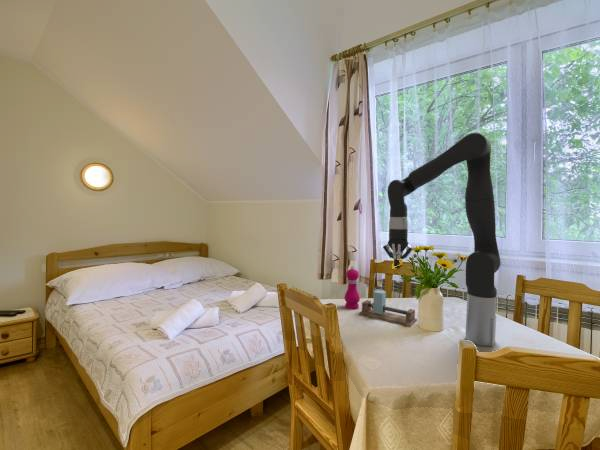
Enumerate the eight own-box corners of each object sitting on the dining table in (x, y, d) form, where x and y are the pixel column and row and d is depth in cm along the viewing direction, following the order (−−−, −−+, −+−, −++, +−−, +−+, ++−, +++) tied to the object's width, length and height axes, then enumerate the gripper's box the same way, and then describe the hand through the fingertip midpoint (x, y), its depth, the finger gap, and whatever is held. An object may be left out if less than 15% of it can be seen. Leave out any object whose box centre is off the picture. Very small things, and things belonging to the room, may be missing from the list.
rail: (416, 321, 138) (417, 308, 137) (410, 326, 131) (410, 313, 131) (367, 310, 152) (367, 298, 151) (359, 314, 145) (359, 302, 145)
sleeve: (385, 312, 144) (385, 291, 143) (381, 314, 141) (382, 293, 140) (377, 310, 147) (377, 290, 146) (373, 312, 143) (373, 292, 143)
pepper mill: (360, 309, 152) (361, 267, 150) (345, 309, 152) (345, 267, 151) (358, 305, 159) (359, 264, 158) (343, 304, 159) (344, 264, 158)
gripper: (417, 227, 136) (416, 268, 137) (386, 226, 144) (386, 265, 145) (411, 228, 130) (410, 271, 131) (379, 227, 138) (379, 267, 139)
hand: (397, 268), depth 138 cm, fingers closed
